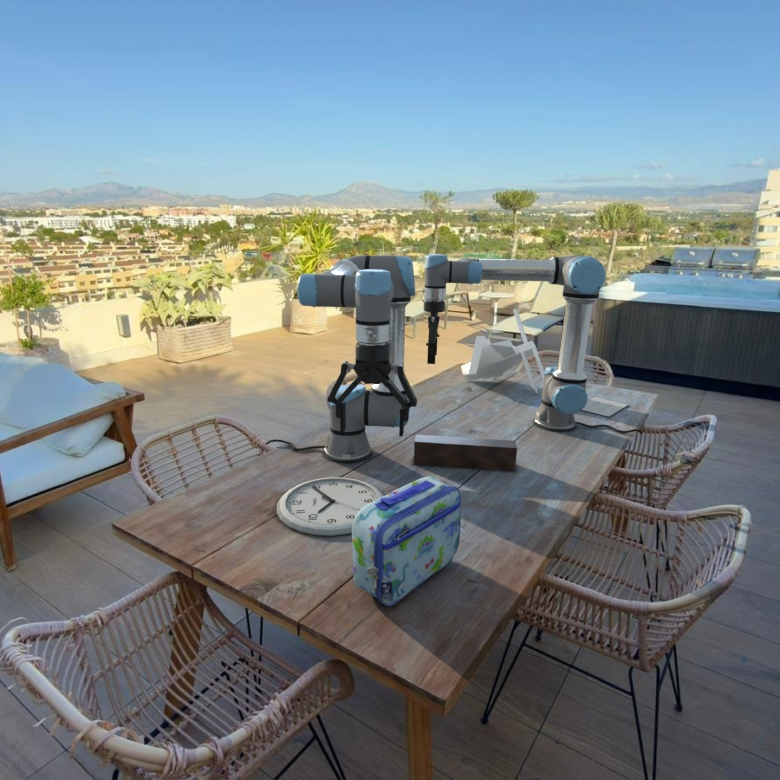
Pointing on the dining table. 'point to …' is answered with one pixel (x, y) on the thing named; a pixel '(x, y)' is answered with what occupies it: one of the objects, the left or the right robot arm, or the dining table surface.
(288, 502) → the wall clock
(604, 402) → the invitation card
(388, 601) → the lunch box
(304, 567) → the dining table surface
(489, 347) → the white plastic object
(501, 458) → the walnut beam
